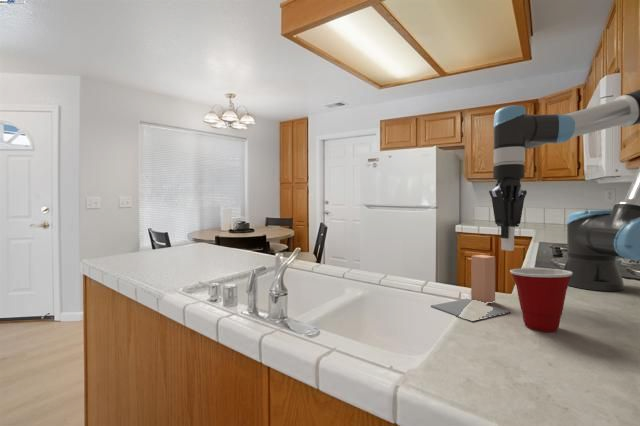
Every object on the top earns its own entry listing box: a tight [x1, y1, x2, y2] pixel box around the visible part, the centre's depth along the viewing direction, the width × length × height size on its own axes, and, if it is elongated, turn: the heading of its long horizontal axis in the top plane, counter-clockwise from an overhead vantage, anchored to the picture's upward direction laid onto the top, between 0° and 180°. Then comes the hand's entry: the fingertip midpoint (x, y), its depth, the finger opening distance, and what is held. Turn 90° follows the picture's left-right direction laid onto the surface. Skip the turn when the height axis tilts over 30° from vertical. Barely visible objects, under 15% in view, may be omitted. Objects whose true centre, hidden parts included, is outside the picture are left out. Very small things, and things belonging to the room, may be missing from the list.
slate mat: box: [430, 298, 511, 319], centre depth 79 cm, size 13×12×1 cm
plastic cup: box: [509, 267, 572, 333], centre depth 68 cm, size 11×11×12 cm
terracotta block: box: [470, 254, 496, 303], centre depth 86 cm, size 4×4×12 cm
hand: (507, 250), depth 90 cm, fingers closed
